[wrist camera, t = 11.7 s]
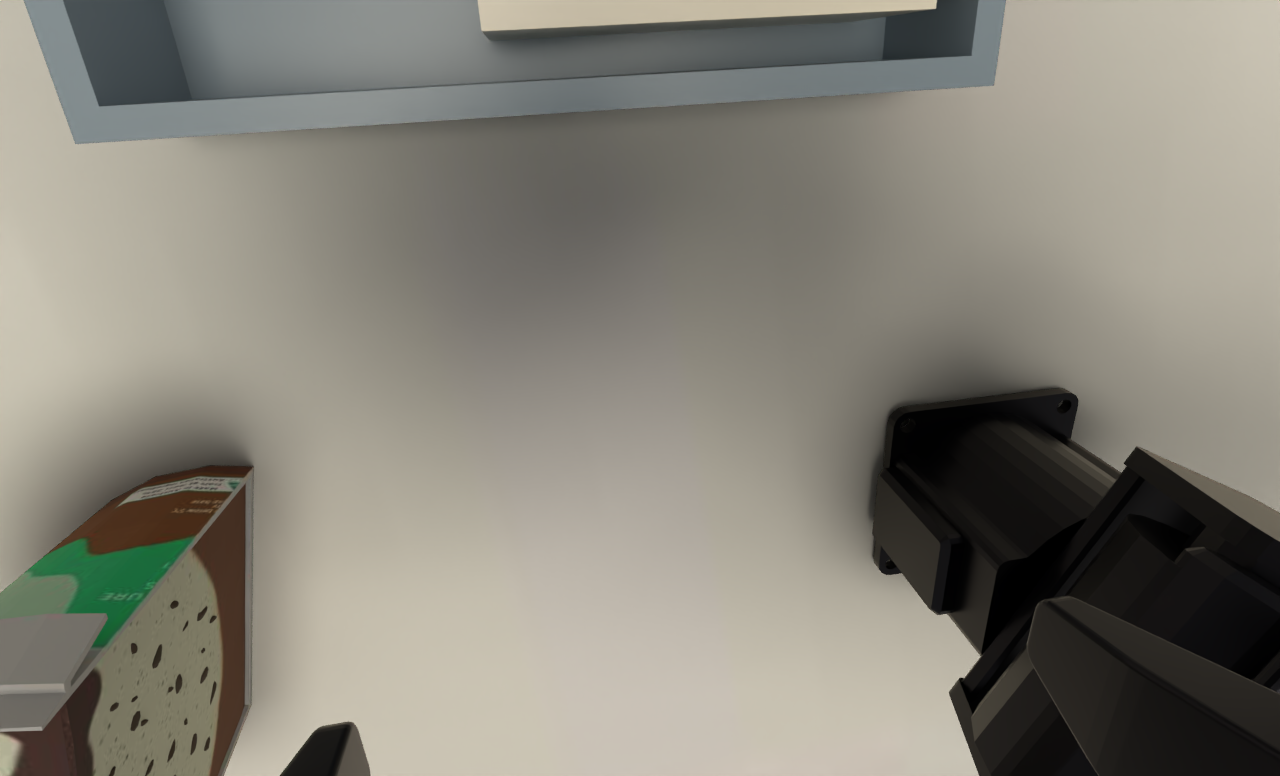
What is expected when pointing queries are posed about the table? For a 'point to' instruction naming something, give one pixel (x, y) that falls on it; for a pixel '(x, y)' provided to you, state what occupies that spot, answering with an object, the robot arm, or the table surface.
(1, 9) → the table surface
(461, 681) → the table surface
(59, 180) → the table surface
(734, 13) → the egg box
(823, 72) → the tote
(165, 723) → the food container
